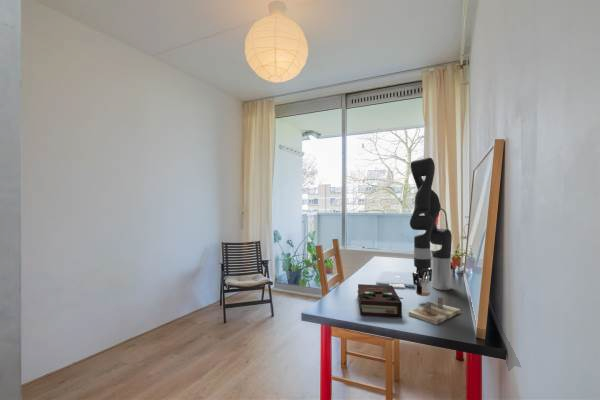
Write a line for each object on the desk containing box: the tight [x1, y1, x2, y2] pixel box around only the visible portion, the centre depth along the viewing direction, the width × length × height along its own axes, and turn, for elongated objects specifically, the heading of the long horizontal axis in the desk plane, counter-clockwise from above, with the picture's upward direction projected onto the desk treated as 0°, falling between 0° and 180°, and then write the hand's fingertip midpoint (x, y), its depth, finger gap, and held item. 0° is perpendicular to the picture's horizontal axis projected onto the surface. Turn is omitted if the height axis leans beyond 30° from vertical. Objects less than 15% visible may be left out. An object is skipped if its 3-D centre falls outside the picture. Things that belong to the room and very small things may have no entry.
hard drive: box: [388, 283, 407, 290], centre depth 166 cm, size 2×8×12 cm
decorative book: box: [356, 283, 404, 319], centre depth 133 cm, size 19×8×30 cm
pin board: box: [408, 296, 461, 325], centre depth 124 cm, size 20×12×6 cm, turn 127°
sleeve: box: [415, 280, 431, 297], centre depth 138 cm, size 6×6×6 cm
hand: (422, 292), depth 138 cm, fingers closed on sleeve, 5 cm apart
